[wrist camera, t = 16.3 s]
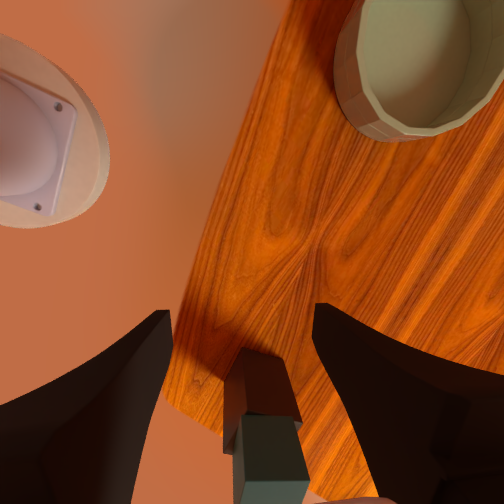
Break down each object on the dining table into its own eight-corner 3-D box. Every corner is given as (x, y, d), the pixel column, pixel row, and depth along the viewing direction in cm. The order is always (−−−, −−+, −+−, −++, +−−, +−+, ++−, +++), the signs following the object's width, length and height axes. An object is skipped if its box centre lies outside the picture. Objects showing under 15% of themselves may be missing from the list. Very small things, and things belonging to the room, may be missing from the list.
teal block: (232, 452, 19) (233, 524, 15) (240, 413, 18) (244, 481, 14) (281, 452, 20) (295, 522, 16) (292, 415, 19) (311, 481, 15)
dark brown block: (223, 382, 26) (222, 453, 19) (241, 346, 25) (247, 409, 18) (264, 392, 27) (276, 464, 20) (283, 359, 26) (303, 423, 19)
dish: (307, 101, 18) (325, 85, 15) (385, -70, 15) (428, -137, 12) (414, 165, 21) (450, 162, 17) (497, 25, 18) (559, -9, 15)
